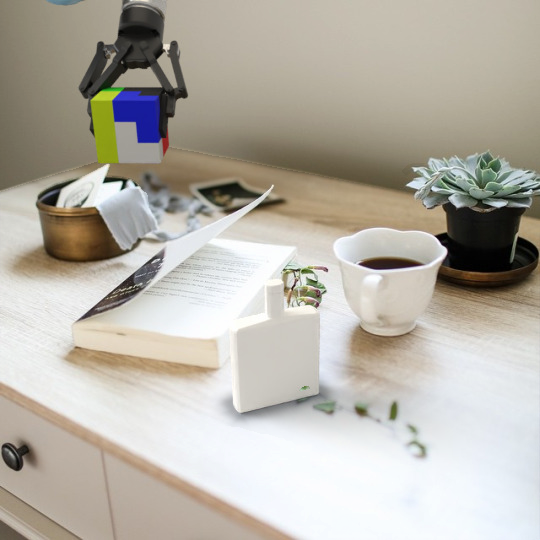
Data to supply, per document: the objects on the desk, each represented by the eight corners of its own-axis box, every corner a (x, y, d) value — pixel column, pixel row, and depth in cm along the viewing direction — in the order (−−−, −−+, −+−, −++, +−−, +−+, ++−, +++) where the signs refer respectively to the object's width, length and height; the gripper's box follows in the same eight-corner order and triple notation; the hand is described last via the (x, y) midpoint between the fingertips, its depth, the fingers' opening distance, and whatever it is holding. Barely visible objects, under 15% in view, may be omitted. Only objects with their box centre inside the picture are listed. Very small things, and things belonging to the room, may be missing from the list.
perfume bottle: (312, 382, 63) (313, 269, 58) (320, 394, 62) (322, 278, 56) (231, 401, 61) (224, 285, 56) (237, 414, 59) (231, 295, 54)
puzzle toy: (160, 163, 107) (155, 100, 103) (98, 163, 108) (90, 100, 103) (169, 145, 116) (164, 87, 112) (111, 145, 116) (105, 87, 112)
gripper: (212, 32, 117) (202, 145, 110) (84, 34, 119) (67, 145, 112) (205, 2, 110) (194, 121, 103) (69, 5, 112) (49, 121, 105)
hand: (128, 133), depth 108 cm, fingers closed on puzzle toy, 10 cm apart
